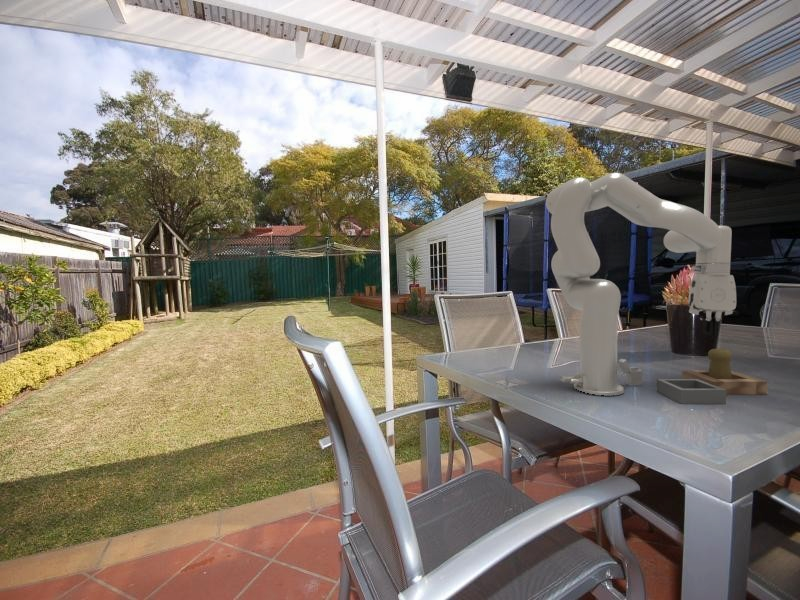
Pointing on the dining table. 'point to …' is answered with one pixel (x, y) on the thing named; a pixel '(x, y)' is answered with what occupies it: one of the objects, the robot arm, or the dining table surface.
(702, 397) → the grey square frame
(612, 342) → the robot arm
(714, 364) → the cork
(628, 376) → the lighter
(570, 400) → the dining table surface
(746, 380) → the socket block
